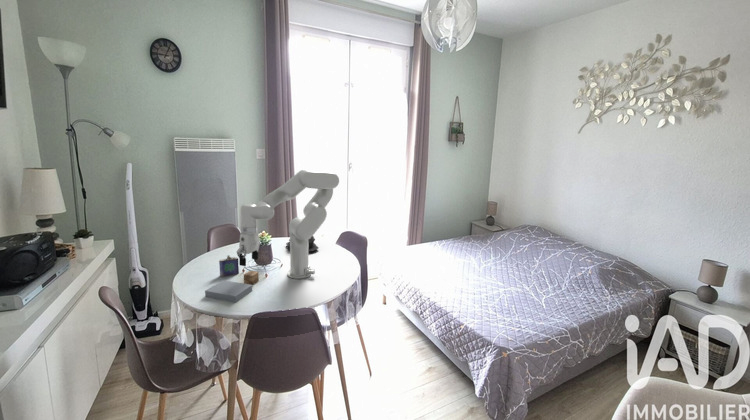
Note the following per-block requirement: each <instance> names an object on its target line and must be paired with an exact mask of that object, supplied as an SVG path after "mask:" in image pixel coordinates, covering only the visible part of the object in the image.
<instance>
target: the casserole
mask: <svg viewBox="0 0 750 420" xmlns="http://www.w3.org/2000/svg"><path fill="white" fill-rule="evenodd" d="M315 241H316V238H315V236H314V235H313V236H312V237H311V238H310V239H308V243H309V247H308V253H309V252H314V251H316V250H318V249H319V247H318V246H317V244H316V243H315ZM285 244H286V246H287V247H288V249H290V238H289V239H288V242H286V243H285Z"/></svg>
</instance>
